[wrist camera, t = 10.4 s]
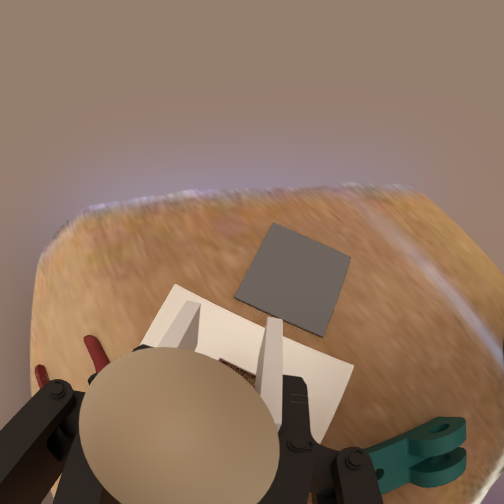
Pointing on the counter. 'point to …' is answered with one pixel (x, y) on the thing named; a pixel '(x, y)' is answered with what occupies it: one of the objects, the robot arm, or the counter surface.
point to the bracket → (421, 455)
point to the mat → (295, 279)
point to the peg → (177, 431)
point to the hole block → (247, 351)
